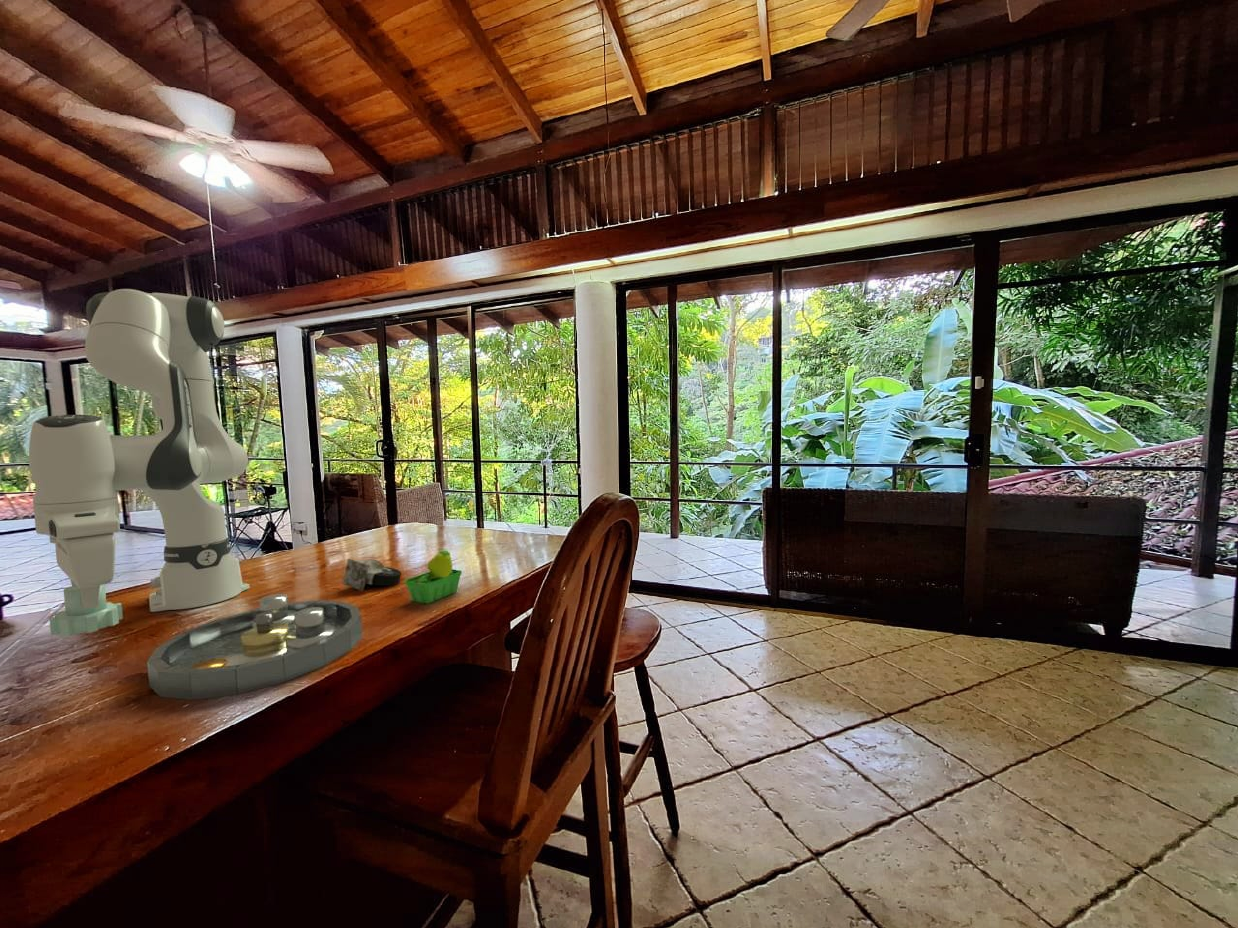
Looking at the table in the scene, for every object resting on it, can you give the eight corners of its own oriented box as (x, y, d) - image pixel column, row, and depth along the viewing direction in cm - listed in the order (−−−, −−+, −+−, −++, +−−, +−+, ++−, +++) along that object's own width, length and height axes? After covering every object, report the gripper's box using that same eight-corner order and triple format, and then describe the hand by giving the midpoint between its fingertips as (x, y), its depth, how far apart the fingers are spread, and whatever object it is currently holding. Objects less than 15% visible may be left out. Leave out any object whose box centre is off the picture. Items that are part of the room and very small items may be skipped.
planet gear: (47, 628, 76) (43, 588, 76) (116, 612, 82) (113, 576, 82) (55, 640, 72) (51, 598, 71) (127, 623, 78) (124, 584, 78)
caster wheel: (404, 589, 127) (375, 597, 118) (371, 578, 130) (340, 584, 121) (410, 565, 127) (381, 570, 118) (376, 554, 130) (346, 558, 121)
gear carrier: (129, 666, 83) (124, 624, 82) (316, 609, 108) (314, 576, 107) (186, 721, 66) (181, 669, 65) (392, 638, 91) (389, 600, 90)
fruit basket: (441, 586, 121) (439, 542, 120) (468, 591, 117) (465, 545, 116) (403, 602, 111) (400, 554, 110) (431, 607, 107) (428, 557, 106)
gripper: (38, 513, 79) (46, 595, 80) (58, 529, 67) (67, 624, 69) (94, 508, 84) (101, 584, 85) (122, 522, 73) (129, 610, 74)
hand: (86, 602), depth 77 cm, fingers closed on planet gear, 4 cm apart
